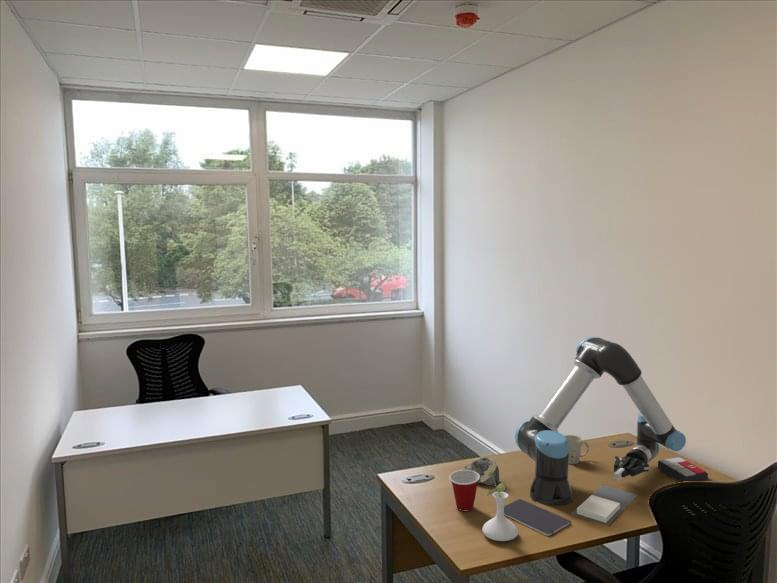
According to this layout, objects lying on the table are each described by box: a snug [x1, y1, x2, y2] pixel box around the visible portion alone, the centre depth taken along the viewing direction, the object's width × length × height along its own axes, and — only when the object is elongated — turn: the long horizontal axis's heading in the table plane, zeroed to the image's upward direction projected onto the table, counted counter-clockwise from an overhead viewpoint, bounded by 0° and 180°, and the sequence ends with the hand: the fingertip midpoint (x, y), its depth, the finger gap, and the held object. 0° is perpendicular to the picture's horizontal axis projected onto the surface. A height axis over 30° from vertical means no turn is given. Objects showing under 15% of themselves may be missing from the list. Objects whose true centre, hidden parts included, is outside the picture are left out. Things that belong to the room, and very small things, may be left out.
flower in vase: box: [480, 461, 519, 542], centre depth 188 cm, size 13×11×25 cm
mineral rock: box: [464, 456, 500, 486], centre depth 229 cm, size 13×11×10 cm
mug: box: [564, 434, 590, 465], centre depth 248 cm, size 8×13×10 cm, turn 107°
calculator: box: [657, 457, 709, 482], centre depth 234 cm, size 11×4×15 cm
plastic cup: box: [448, 469, 480, 511], centre depth 207 cm, size 11×11×12 cm
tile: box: [576, 494, 620, 523], centre depth 203 cm, size 10×2×13 cm
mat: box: [570, 484, 638, 527], centre depth 209 cm, size 13×29×1 cm, turn 139°
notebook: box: [504, 498, 572, 537], centre depth 200 cm, size 13×2×21 cm
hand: (616, 477), depth 214 cm, fingers closed
